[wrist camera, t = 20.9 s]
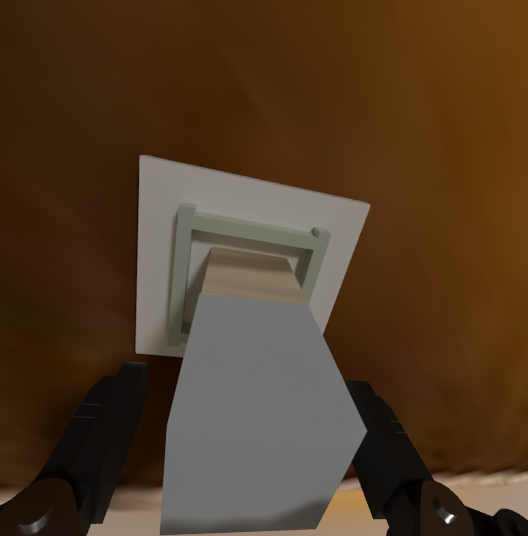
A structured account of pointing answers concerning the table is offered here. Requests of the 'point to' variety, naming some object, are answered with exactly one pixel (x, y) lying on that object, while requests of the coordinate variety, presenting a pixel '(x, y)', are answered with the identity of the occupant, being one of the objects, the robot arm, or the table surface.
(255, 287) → the beech block
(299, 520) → the grey-blue block
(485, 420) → the table surface
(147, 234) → the baseplate
